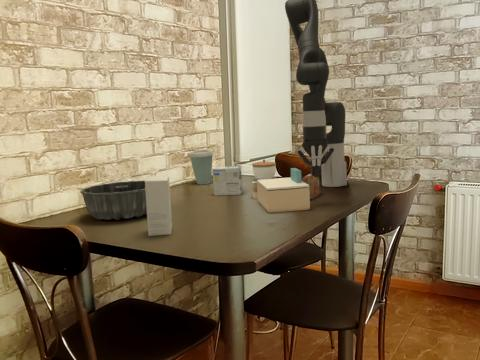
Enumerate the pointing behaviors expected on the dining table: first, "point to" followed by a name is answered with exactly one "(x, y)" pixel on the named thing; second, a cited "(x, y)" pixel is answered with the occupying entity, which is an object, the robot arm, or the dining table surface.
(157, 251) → the dining table surface
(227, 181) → the light bulb box
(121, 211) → the bundt pan
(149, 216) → the skincare box
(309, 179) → the brown flat slab
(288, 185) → the lid
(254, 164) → the lidded jar
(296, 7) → the robot arm
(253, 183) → the birch block
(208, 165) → the disposable coffee cup
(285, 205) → the box
